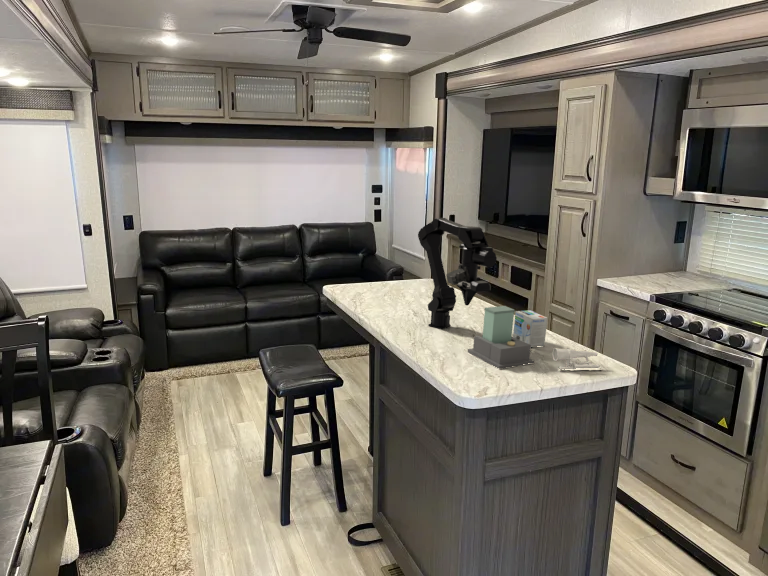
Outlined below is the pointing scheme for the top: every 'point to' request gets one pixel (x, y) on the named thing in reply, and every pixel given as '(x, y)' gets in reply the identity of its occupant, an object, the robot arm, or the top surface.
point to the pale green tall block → (498, 324)
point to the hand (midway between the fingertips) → (466, 305)
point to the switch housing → (501, 352)
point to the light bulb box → (530, 328)
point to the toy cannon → (570, 354)
